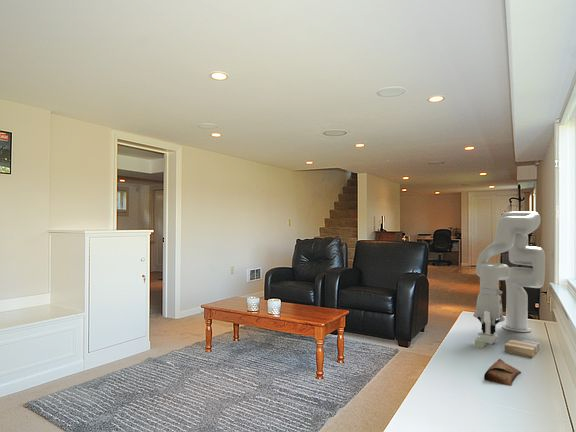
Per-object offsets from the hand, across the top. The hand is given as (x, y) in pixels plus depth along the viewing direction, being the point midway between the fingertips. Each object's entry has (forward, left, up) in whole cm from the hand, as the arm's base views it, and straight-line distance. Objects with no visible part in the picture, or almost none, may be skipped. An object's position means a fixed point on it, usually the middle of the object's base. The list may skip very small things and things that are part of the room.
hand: (488, 332), depth 180 cm
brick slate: (-3, +16, -4) cm, 17 cm away
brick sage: (+9, -1, -4) cm, 10 cm away
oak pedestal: (+5, +14, -4) cm, 15 cm away
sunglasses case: (+41, +15, -5) cm, 44 cm away
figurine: (0, 0, -4) cm, 4 cm away
